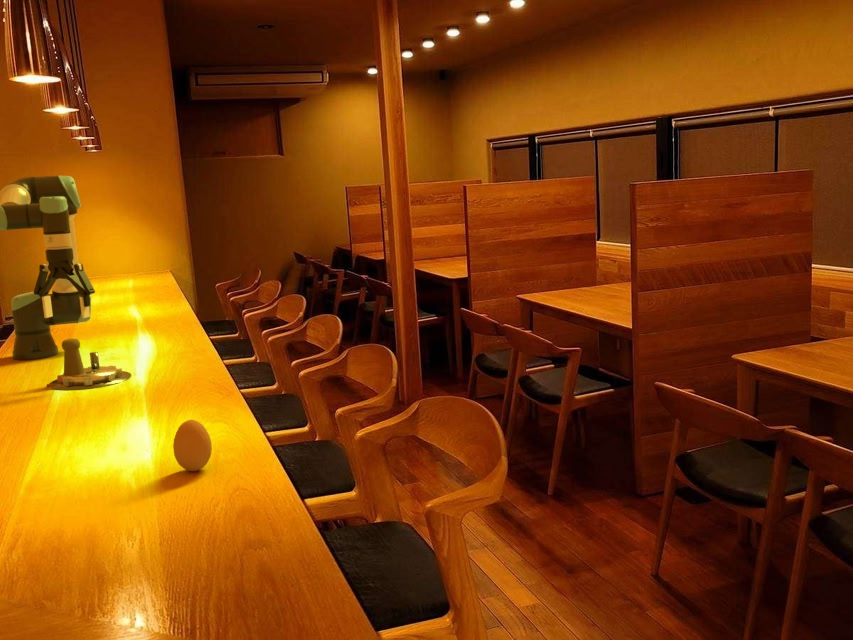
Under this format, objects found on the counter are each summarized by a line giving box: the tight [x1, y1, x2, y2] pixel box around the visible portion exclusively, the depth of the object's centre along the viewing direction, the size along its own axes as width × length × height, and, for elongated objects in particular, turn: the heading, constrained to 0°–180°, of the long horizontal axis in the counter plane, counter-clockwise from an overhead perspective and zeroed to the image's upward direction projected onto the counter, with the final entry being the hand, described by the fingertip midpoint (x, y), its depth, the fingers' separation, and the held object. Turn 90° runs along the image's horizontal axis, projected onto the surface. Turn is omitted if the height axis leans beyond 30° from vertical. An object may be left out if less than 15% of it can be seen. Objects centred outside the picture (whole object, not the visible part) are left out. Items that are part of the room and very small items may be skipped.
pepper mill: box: [61, 338, 85, 376], centre depth 246 cm, size 6×6×11 cm
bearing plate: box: [46, 370, 132, 391], centre depth 250 cm, size 24×24×1 cm
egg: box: [172, 419, 213, 472], centre depth 164 cm, size 8×8×11 cm
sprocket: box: [56, 351, 123, 386], centre depth 249 cm, size 19×19×7 cm
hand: (67, 317), depth 244 cm, fingers open, 13 cm apart
